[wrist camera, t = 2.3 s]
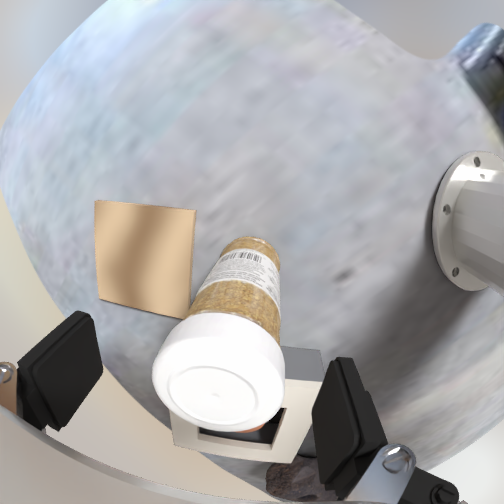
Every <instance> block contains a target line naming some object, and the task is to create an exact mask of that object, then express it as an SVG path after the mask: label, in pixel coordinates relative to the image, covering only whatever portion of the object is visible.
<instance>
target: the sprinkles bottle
mask: <svg viewBox="0 0 504 504" xmlns="http://www.w3.org/2000/svg"><path fill="white" fill-rule="evenodd" d="M279 270H280V261H279V257H278V254H277V253H276V251H275V249H274V248H273V247H272V246H271V245H270V244H269V243H267V242H266V241H264V240H262V239H260V238H256V237H242V238H238V239H236V240H234V241H233V242H231V243H230V244H228V245H227V246H226V248H225V249H224V250H223V252H222V254H221V257H220V259H219V260H218V261H217V263H216V264H215V266H214V267H213V269H212V270H211V272H210V273H209V275H208V276H207V278H206V280H205V281H204V283H203V284H202V286H201V287H200V289H199V291H198V293H197V295H196V297H195V300H194V302H193V304H192V305H191V307H190V309H189V310H188V312H187V314H186V316H185V318H184V319H183V321H182V322H180V323H179V324H178V325H176V326H175V327H174V328H173V329H172V330H171V332H170V333H169V335H168V337H167V338H166V340H165V341H164V343H163V345H162V347H161V349H160V350H159V352H158V354H157V356H156V358H155V360H154V362H153V366H152V381H153V385H154V388H155V391H156V393H157V395H158V396H159V398H160V399H161V401H162V402H163V403H164V404H165V405H166V406H167V407H168V408H169V409H170V410H171V411H172V412H173V413H175V414H176V415H177V416H179V417H180V418H182V419H184V420H186V421H187V422H190V423H192V424H194V425H197V426H199V427H202V428H206V429H209V430H215V431H224V432H235V431H244V430H249V429H252V428H255V427H258V426H260V425H262V424H264V423H265V422H267V421H268V420H270V419H271V418H272V417H273V416H274V415H275V414H276V413H277V412H278V410H279V409H280V407H281V405H282V403H283V400H284V395H285V362H284V358H283V354H282V351H281V347H280V344H279V342H280V337H279V330H280V324H281V316H280V278H279Z"/></svg>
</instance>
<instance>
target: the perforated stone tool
mask: <svg viewBox="0 0 504 504" xmlns="http://www.w3.org/2000/svg"><path fill="white" fill-rule="evenodd" d="M266 474H267V475H266V478H265V479H266V482H267V484H266V490H267V491H268V492H269V493H270V494H271V495H273V496H276V497H279V498H283V499H287V500H292V501H298V502H330V501H334V500H335V499H336V498H337V496H336V495H335V490H329V491H325V485H324V484H321V483H320V480H319V471H318V462H317V458H304V457H301V456H300V455H295V457H294V459H293V461H292V463H276V462H275V463H274V464H272V465H271V466H270V467H269V469H268V471H267V473H266Z"/></svg>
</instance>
